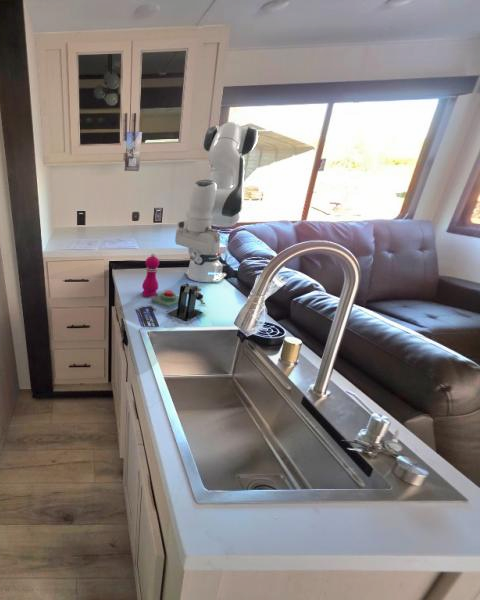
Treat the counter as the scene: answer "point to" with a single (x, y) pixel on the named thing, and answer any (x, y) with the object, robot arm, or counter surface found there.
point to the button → (168, 293)
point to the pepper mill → (151, 277)
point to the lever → (199, 295)
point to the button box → (166, 300)
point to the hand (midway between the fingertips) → (193, 260)
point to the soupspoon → (197, 291)
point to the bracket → (189, 310)
